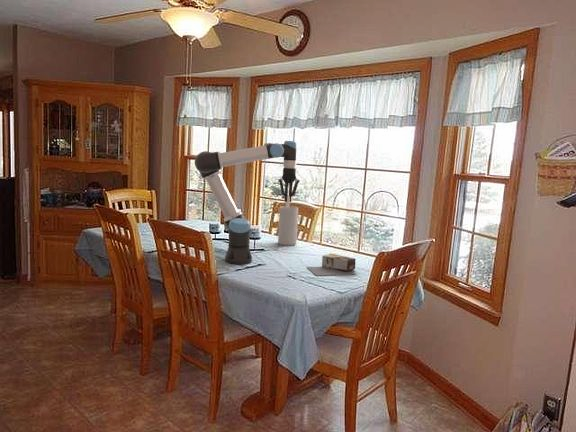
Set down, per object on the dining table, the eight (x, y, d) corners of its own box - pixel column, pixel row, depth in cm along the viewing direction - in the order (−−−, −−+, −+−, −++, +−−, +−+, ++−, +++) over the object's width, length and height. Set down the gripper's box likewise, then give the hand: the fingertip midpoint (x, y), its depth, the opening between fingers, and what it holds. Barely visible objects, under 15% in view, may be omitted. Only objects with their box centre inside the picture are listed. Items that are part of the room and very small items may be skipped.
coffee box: (321, 266, 245) (346, 272, 236) (322, 255, 244) (347, 261, 235) (330, 263, 253) (355, 269, 243) (331, 252, 252) (356, 258, 242)
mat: (316, 276, 228) (316, 275, 228) (306, 267, 243) (306, 266, 243) (355, 274, 234) (355, 274, 234) (343, 266, 249) (343, 265, 249)
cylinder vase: (297, 242, 306) (299, 206, 302) (294, 246, 294) (296, 209, 290) (279, 241, 308) (281, 205, 304) (276, 244, 296) (278, 207, 292)
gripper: (298, 167, 265) (296, 206, 268) (277, 166, 261) (275, 206, 265) (302, 168, 258) (299, 208, 261) (280, 167, 254) (278, 208, 258)
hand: (287, 207), depth 263 cm, fingers closed
